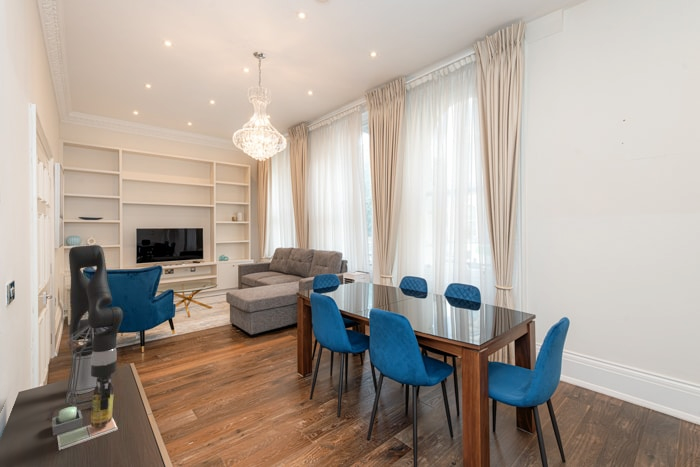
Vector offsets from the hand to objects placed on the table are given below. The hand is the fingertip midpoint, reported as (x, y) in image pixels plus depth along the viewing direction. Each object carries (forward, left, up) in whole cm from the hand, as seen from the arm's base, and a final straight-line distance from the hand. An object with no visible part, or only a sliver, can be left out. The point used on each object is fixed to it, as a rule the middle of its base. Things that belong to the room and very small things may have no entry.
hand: (102, 405), depth 116 cm
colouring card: (0, -4, -9) cm, 10 cm away
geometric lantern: (-26, -1, -9) cm, 27 cm away
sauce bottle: (0, 0, -7) cm, 7 cm away
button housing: (-11, -9, -9) cm, 17 cm away
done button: (-11, -9, -7) cm, 16 cm away
